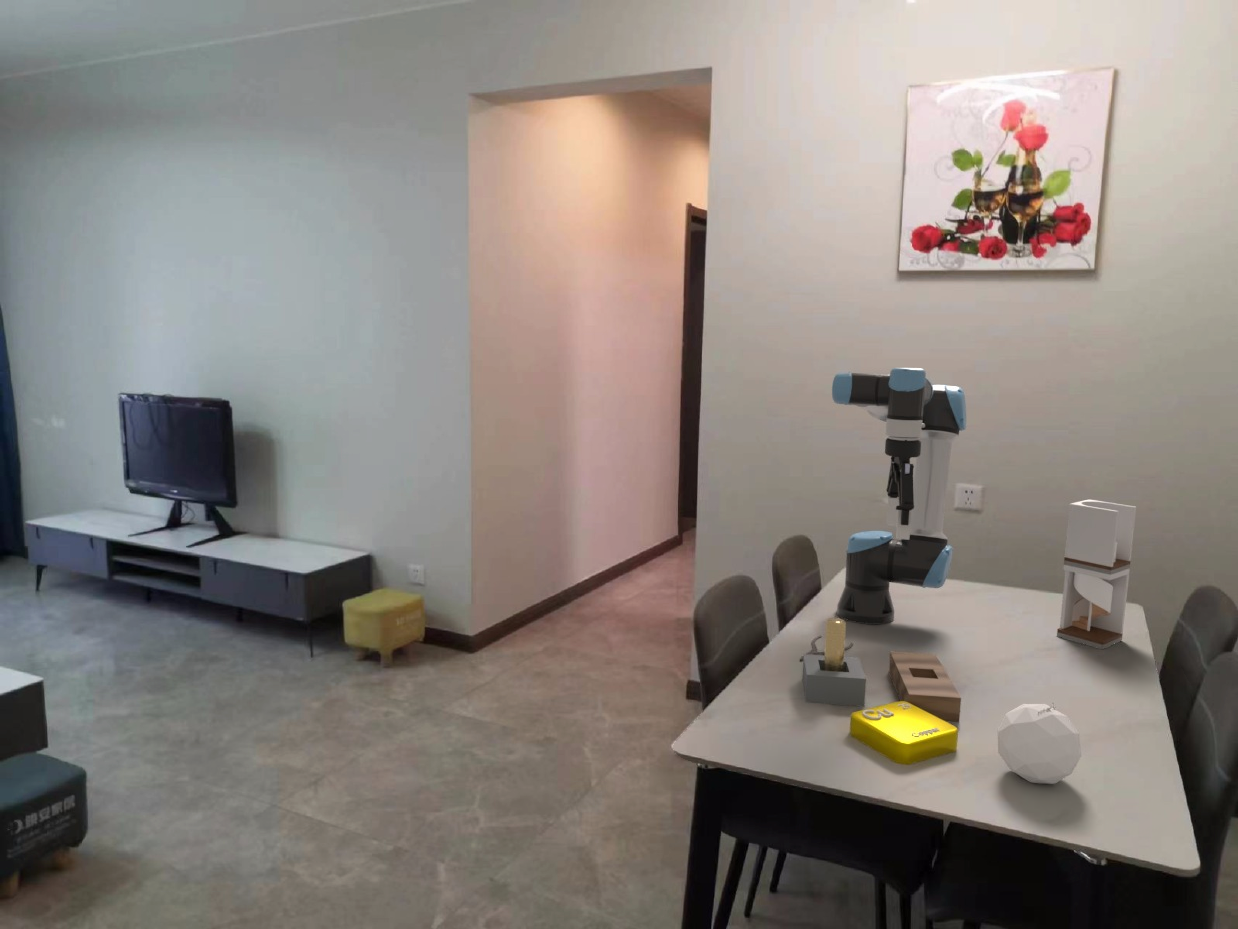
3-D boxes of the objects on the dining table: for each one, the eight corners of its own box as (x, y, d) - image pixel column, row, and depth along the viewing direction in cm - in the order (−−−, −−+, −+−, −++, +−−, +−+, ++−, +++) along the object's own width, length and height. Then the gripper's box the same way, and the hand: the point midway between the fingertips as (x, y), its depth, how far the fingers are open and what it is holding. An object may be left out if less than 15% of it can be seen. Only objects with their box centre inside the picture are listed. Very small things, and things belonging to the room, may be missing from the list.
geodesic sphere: (1015, 716, 165) (1006, 673, 157) (1096, 739, 156) (1090, 695, 148) (991, 782, 158) (980, 740, 150) (1074, 810, 149) (1066, 767, 141)
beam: (888, 672, 200) (890, 651, 200) (934, 675, 199) (935, 654, 198) (907, 717, 177) (909, 694, 176) (959, 721, 175) (961, 698, 175)
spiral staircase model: (1056, 636, 226) (1069, 503, 221) (1076, 628, 233) (1089, 499, 227) (1102, 649, 217) (1117, 511, 212) (1121, 641, 224) (1136, 506, 218)
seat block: (802, 679, 195) (803, 654, 194) (857, 683, 194) (858, 657, 193) (805, 702, 184) (806, 674, 183) (864, 706, 182) (866, 679, 181)
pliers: (854, 640, 220) (840, 667, 202) (854, 643, 220) (840, 670, 202) (815, 634, 224) (798, 660, 206) (815, 637, 224) (798, 663, 206)
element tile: (902, 768, 157) (903, 743, 156) (844, 733, 170) (846, 710, 169) (961, 751, 164) (963, 727, 163) (902, 719, 177) (903, 696, 176)
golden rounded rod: (821, 688, 191) (825, 617, 188) (840, 689, 190) (844, 618, 188) (823, 695, 187) (827, 623, 184) (842, 697, 186) (846, 625, 184)
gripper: (932, 445, 180) (925, 546, 184) (910, 432, 205) (904, 520, 208) (895, 444, 181) (888, 544, 185) (877, 431, 206) (872, 519, 209)
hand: (897, 532), depth 196 cm, fingers open, 13 cm apart
